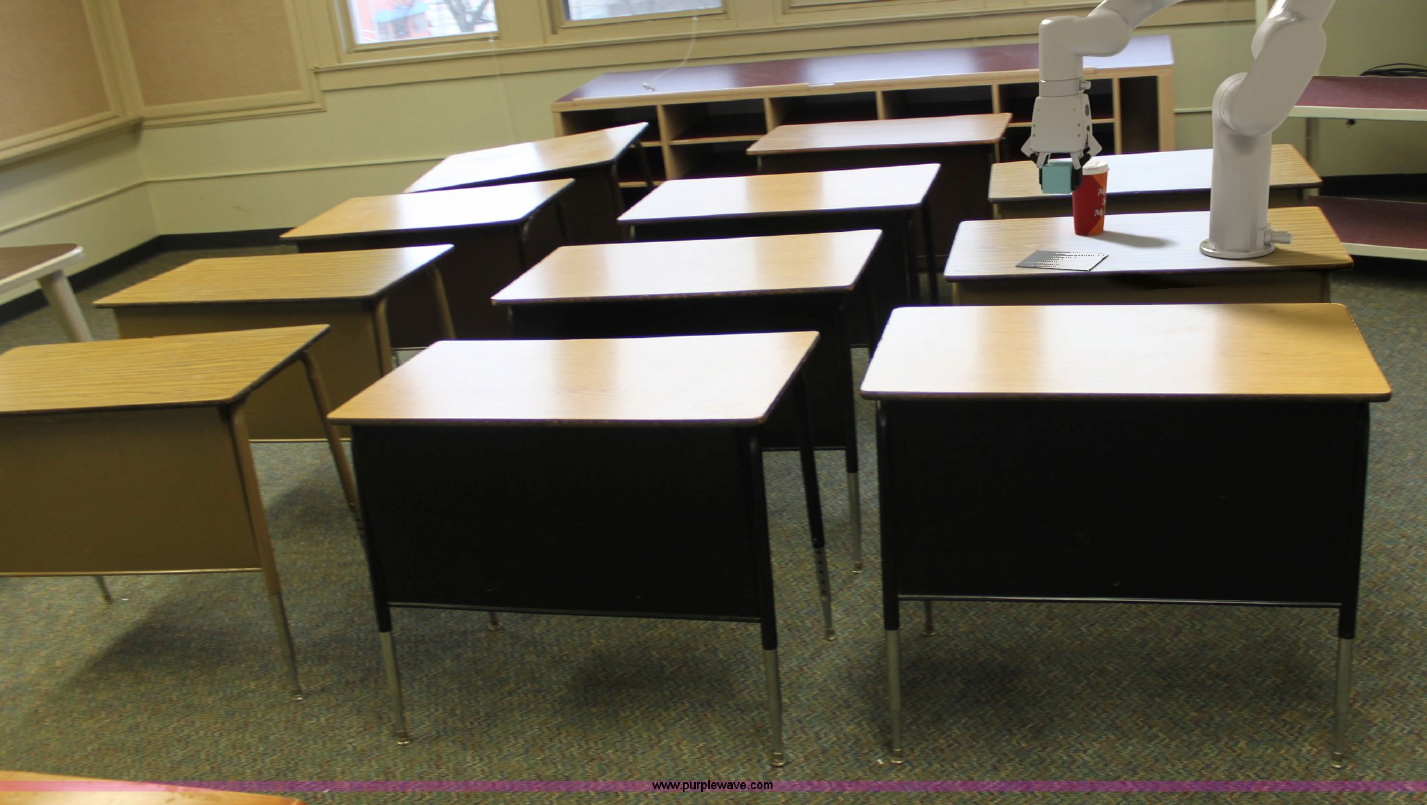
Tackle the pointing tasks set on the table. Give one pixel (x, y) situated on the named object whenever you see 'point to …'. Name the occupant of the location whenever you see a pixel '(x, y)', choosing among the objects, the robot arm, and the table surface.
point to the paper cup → (1091, 199)
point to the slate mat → (1043, 258)
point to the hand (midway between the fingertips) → (1060, 187)
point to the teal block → (1057, 177)
